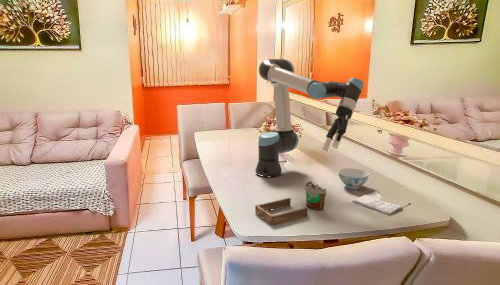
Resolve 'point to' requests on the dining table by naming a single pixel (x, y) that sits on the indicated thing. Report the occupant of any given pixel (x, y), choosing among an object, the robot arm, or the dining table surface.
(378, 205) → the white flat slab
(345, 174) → the chinaware
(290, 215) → the caddy
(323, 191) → the food container
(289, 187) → the dining table surface
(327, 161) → the dining table surface
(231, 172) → the dining table surface
